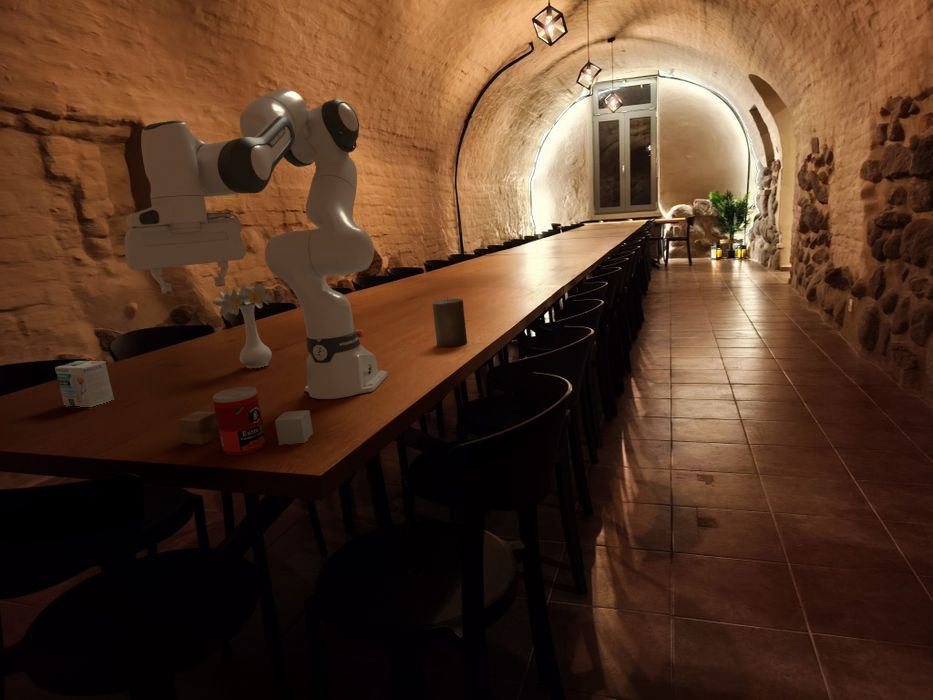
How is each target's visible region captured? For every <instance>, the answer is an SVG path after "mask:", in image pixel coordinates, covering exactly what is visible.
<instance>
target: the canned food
mask: <svg viewBox="0 0 933 700" xmlns="http://www.w3.org/2000/svg"><path fill="white" fill-rule="evenodd" d="M212 402H213V408H214V412H215V413H216V418H217V423H218V428H219V433H220V436H219V437H220V442H221V447H222V451H223V452H224V453H225V454H226V455H228V456H244V455H248V454H249V455H250V454H252V453H255V452H257V451H259V450H261V449H263V448H264V446H265V444H266V435H265V430H264V423H263V419H262V412H261V406H260V400H259V396H258V391H257V388H255V387H251V386H238V387H237V386H236V387H233V388H232V387H230V388H227V389H225V390H221V391H219V392H217V393H215V394H214V395H213V396H212Z"/></svg>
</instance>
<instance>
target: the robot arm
mask: <svg viewBox="0 0 933 700" xmlns="http://www.w3.org/2000/svg"><path fill="white" fill-rule="evenodd" d="M239 128H240V132H241V135H242V137H240V138H234V139H232V140H224V141H219V142H213V143H206V142H205V141H203V140H201V139H199V138H198V137H197V136H196V135H194V134H193V133H192V132H191V131H190V128H189V125H188V124H187V122H186V121H183V120H168V121H159V122H154V123H151V124H148V125H146V126H145V127H144V128H143V129H142V131H141V136H140V137H141V138H140V139H141V140H140V141H141V145H140V146H141V147H140V148H141V154H142V161H143V165H144V167H143V168H144V171H145V176H146V177H147V180H148V181H149V185H150V195H149V196H150V202H151V207H145V208H142V209H140V211H136V212H134V213H130V214H129V215H128V216H126V218H125V221H126V225H127V227H128V228H130V229H129V230H128V231H127V232H126V233H125V235H124V255H125V261H126V263H125V264H126V266H127V267H128V268H129V269H130V270H132V271H135V272H136V271H145V270H150V273H151V276H152V278H154V279H155V281H156V282H157V283H158V284H159V285H160V290H161V293H162V294H171V293H173V288H172V283H171V282H165V280H164V279H163V278H162V277H161V276H160V275H163V270H162V269H164V268H172V267H173V268H174V267H183V266H191V265H192V266H193V265H201V264H211V263H213V264H215V263H217V267H218V268H219V269H220V270H219V274H218V276H214V277H213V279H214V280H213V281H214V285H215V287H216V288H218V287H225V286H226V280H225V277H226V275H227V272H228V270H229V268H230V267H229V262H231V261H232V262H233V261H241V260H243V259H244V258H245V256H246V255H247V254H246V253H247V252H246V247H245V243H244V239H243V237H242V234H241V233H242V226H241V225H242V224H241V220H240V218H239V217H238V216H237V215H236V214H234V213H232V212H230V211H223V212H207V206H206V201H205V198H208V197H209V198H211V197H219V196H227V195H228V196H229V195H239V194H242V195H243V194H245V195H246V194H259V193H261V192H263V191H264V190H265V189H266V187H267V186H268V184H269V183H270V180H271V177H272V175H273V172H274V170H275V168H276V166H277V165H278V164H279V162H280V161H281V160H282V159H284V160H286V162H287V163H289V164H291V165H292V166H294V167H297V168H303V167H307V166H310V165H311V166H312V164H313V163H314V164H315V165H314V167H315V172H314V174H313V176H312V180H311V184H310V186H309V191H308V195H307V199H306V202H305V212H306V216H307V219H308V220H309V221H310V222H311V223H312V224H313V225H315V226H316V227H317V228H313V229H303V230H293V231H292V230H291V231H287V232H284V233H280V234H278V235H275V236H272V237H270V238H269V239H268V240H267V243H266V245H265V248H264V260H265V263H266V265H267V268H268V269H269V270H270V272H271V273H272V274H273V275H274V276H276V277H278V278H279V279H281V280H282V281H283V282H284V283H285V284H286V285H288V287H290V289H291V290H292V292H293V293H294V294H295V296H296V298H297V300H298V302H299V305H300V307H301V310H302V315H303V318H304V324H305V330H306V335H307V336H306V338H305V341H306V344H305V345H306V349H307V353H309V355H308V356H307V358H306V374H307V376H306V379H307V385H306V386H305V387H304V391H305V392H307V393H308V394H309V397H311V398H312V399H313V398H314V399H318V400H334V399H342V398H348V397H352V396H355V395H358V394H359V395H360V394H364V393H365V394H366V393H370V392H374V391H376V389H377V388H378V386H379V385H380V384H381V383H383V381H384V380H385V379H386V378H387V377H388V375H389V374H388V371H386V370H383V369H378V361H377V359H376V358H377V357H376V356H375V354H373V353H372V352H370V351H369V350H367V348H365V347H364V346H362V345H361V342H360V338H361V339H362V338H364V330H363V329H355V327H354V319H353V311H352V305H351V301H350V300H349V299H348V297H346V296H345V295H344V294H343V293H341V292H339V291H336V290H334V289H333V288H332V287H330V286H329V284H328V282H327V281H326V279H325V277H336V276H337V277H339V276H348V275H352V274H355V273H359V272H362V271H366V270H368V269H369V267H370V266H371V264H372V263H373V261H374V257H375V248H374V243H373V240H372V238H371V236H370V235H369V233H367V231H366V230H364V229H363V228H361V227H359V226H358V225H357V224H356V223H355V222H354V217H353V214H354V206H355V200H356V196H357V195H356V194H357V188H358V187H357V186H358V171H357V166H356V164H355V162H354V161H353V159H352V158H351V157H350V154H349V153H353V152H354V151H355V150H356V148H357V141H358V139H359V134H360V133H359V132H360V121H359V119H358V115H357V113H356V111H355V110H354V108H353V107H352V106H351V105H350V104H349V103H347V102H346V101H345V100H343V99H331V100H327V101H325V102H324V103H323V104H321V105H318V106H316V107H314V108H312V109H310V110H308V106H307V103H306V101H305V100H304V98H303V97H302V96H301V95H300V94H299V93H297V92H296V91H294V90H291V89H290V88H289V89H288V88H283V89H282V88H281V89H277V90H276V89H275V90H273V91H271V92H268V93H265V94H264V95H262V96H260V97H258V98H256V99H255V100H254V101H252V102H251V103H249V104H248V105H247V106H246V107H245V108H244V110H243V111H242V113H241V114H240V117H239Z"/></svg>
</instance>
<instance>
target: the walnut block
mask: <svg viewBox="0 0 933 700" xmlns="http://www.w3.org/2000/svg"><path fill="white" fill-rule="evenodd" d="M177 422H178V426H179V432H180V436H181V440H182V441H181V442H182V444H183V443H188V444H189V445H204V443H205V444H207V443H208V442H207V441H209V440H210V441H212V440H214V439H216V438H217V436H218V437H220V436H219V435H220V433H219V428H218V423H217V418H216V413H215V411H195V412H193V413H191V414H188V415H186V416H184V417H182V418H180V419H177ZM215 437H216V438H215ZM213 438H214V439H213ZM211 439H212V440H211ZM210 441H209V442H210ZM206 442H207V443H206Z"/></svg>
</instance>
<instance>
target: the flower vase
mask: <svg viewBox="0 0 933 700" xmlns="http://www.w3.org/2000/svg"><path fill="white" fill-rule="evenodd" d="M219 297H220V299H213V301H212V303H213V304H214V305H215V306H217V307H220V309H219V315H220V316H222V317H223V316H225V315H226V314H227V313H229V314H231V315H235V316H239V309H240V311H241V314H242V316H243V321H244V327H245V335H246V339H245V344H244V346H243V348H242V350H241V351H240V354H239V361H240V362H241V363H242V364H243V365H245V366H246V369H248V368H250V369H249V370H252V369H251V368H259V369H262V368H261V367H263V368H265V367H264V366H266V367H267V366H269V362H270V360H271V359H272V356H273V353H272V351H271V349H270V348H269V347H268V346H267V345H266V344H264V343H263V342H262V339H261V338H260V336H259V333H258V328H257V323H256V319H255V307H257V308H258V309H262V308H263V307H264V304H263V303H265V304H266V305H270V304H269V301H273V297H271V295H270V294H269V293H266V287H265V286H264V285H261V284H260V283H258V284H257V283H253V289H252V290H251V289H250V288H248V287H247V286H246V285H241V287H240V290H239V292H237V290H236V288H233V289H232V292H231V294H230V290H229V288H227V289H226V292H225V293H224V292H223V291H220V292H219Z"/></svg>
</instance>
